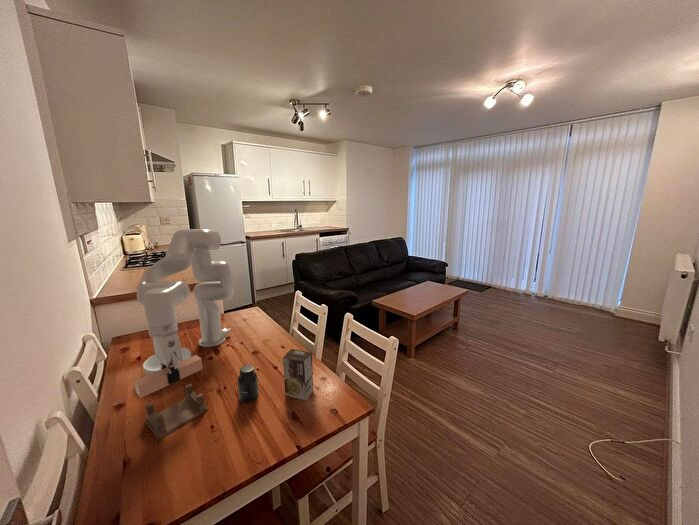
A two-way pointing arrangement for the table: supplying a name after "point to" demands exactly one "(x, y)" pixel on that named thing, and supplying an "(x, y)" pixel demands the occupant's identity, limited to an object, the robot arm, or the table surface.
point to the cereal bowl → (154, 363)
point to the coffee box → (298, 374)
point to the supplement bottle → (247, 384)
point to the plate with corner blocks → (175, 413)
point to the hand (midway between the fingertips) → (171, 378)
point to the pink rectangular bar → (160, 377)
